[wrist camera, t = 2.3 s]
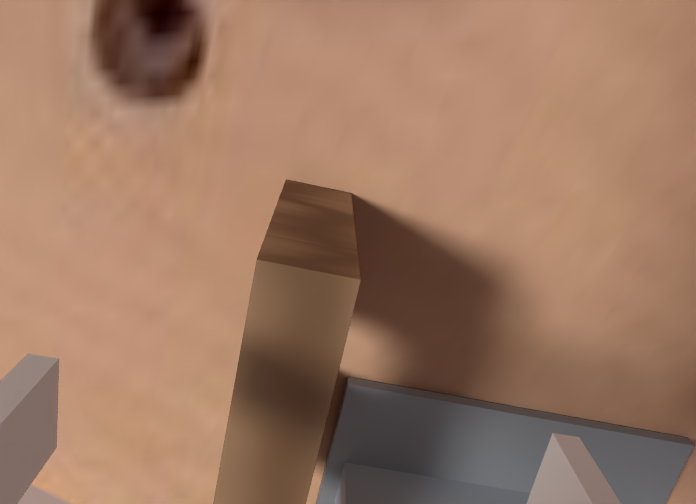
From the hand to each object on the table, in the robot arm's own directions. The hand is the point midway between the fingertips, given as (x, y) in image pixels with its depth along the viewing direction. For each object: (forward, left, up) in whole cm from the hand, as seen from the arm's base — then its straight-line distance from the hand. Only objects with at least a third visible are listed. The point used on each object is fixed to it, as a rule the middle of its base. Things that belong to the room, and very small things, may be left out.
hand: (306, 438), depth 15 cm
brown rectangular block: (-1, -5, -17) cm, 18 cm away
